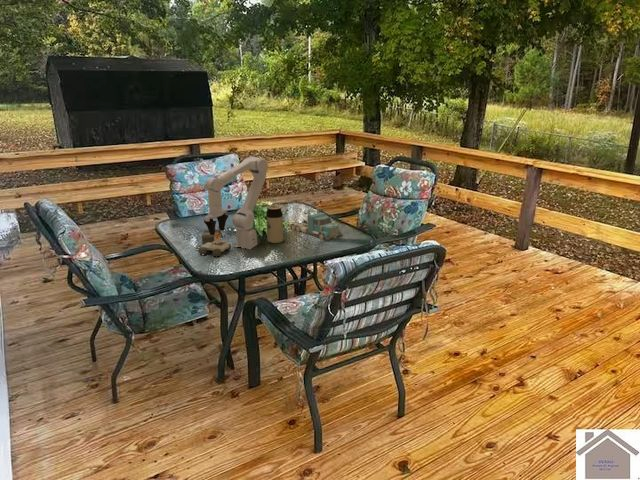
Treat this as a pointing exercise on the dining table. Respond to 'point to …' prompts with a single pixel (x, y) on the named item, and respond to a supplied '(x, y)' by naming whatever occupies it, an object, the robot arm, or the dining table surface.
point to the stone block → (209, 236)
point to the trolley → (214, 248)
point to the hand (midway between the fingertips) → (217, 232)
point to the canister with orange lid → (218, 239)
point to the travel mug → (274, 224)
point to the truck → (318, 226)
